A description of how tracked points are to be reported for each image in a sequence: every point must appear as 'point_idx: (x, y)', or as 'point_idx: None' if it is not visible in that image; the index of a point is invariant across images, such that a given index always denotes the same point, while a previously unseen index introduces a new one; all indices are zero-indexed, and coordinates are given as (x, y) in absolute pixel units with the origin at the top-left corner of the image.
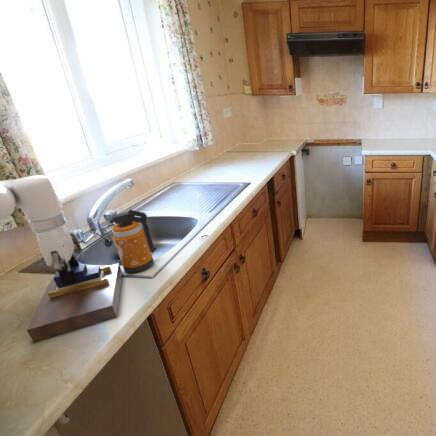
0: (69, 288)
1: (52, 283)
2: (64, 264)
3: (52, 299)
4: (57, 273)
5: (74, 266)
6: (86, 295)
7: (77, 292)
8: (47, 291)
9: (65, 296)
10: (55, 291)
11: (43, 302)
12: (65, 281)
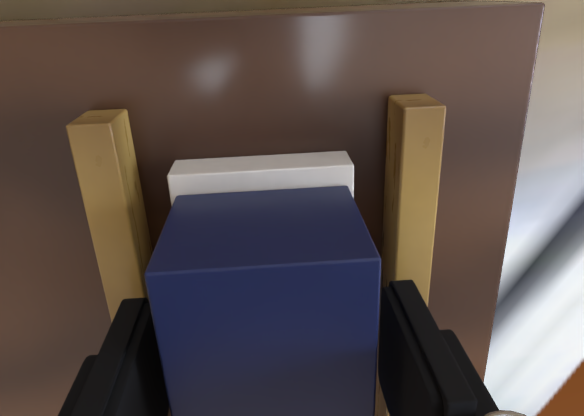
0: (110, 310)
1: (429, 48)
2: (428, 390)
3: (48, 145)
4: (272, 293)
5: (402, 412)
6: (22, 400)
7: (104, 327)
8: (255, 42)
9: (66, 250)
10: (89, 198)
11: (15, 66)
12: (82, 370)
